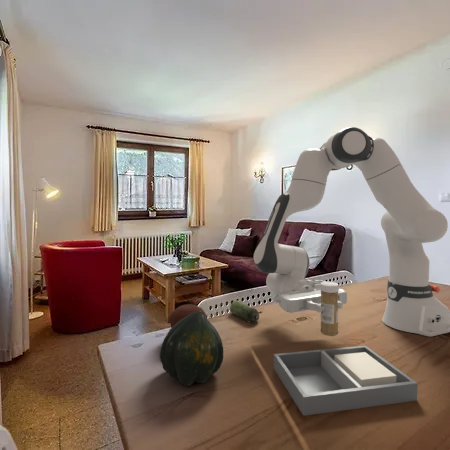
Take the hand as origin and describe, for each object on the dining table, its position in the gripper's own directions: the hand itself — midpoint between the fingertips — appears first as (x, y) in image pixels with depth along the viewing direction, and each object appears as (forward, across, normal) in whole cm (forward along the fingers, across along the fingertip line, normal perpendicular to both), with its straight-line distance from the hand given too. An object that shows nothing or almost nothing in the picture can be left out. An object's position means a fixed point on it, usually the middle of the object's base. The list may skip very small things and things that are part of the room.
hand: (331, 307), depth 77 cm
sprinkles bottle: (-1, 0, +7) cm, 7 cm away
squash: (-4, -37, +12) cm, 39 cm away
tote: (+12, -8, +13) cm, 19 cm away
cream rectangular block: (+13, -2, +12) cm, 18 cm away
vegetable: (-32, -11, +13) cm, 36 cm away
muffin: (-22, -33, +12) cm, 42 cm away
